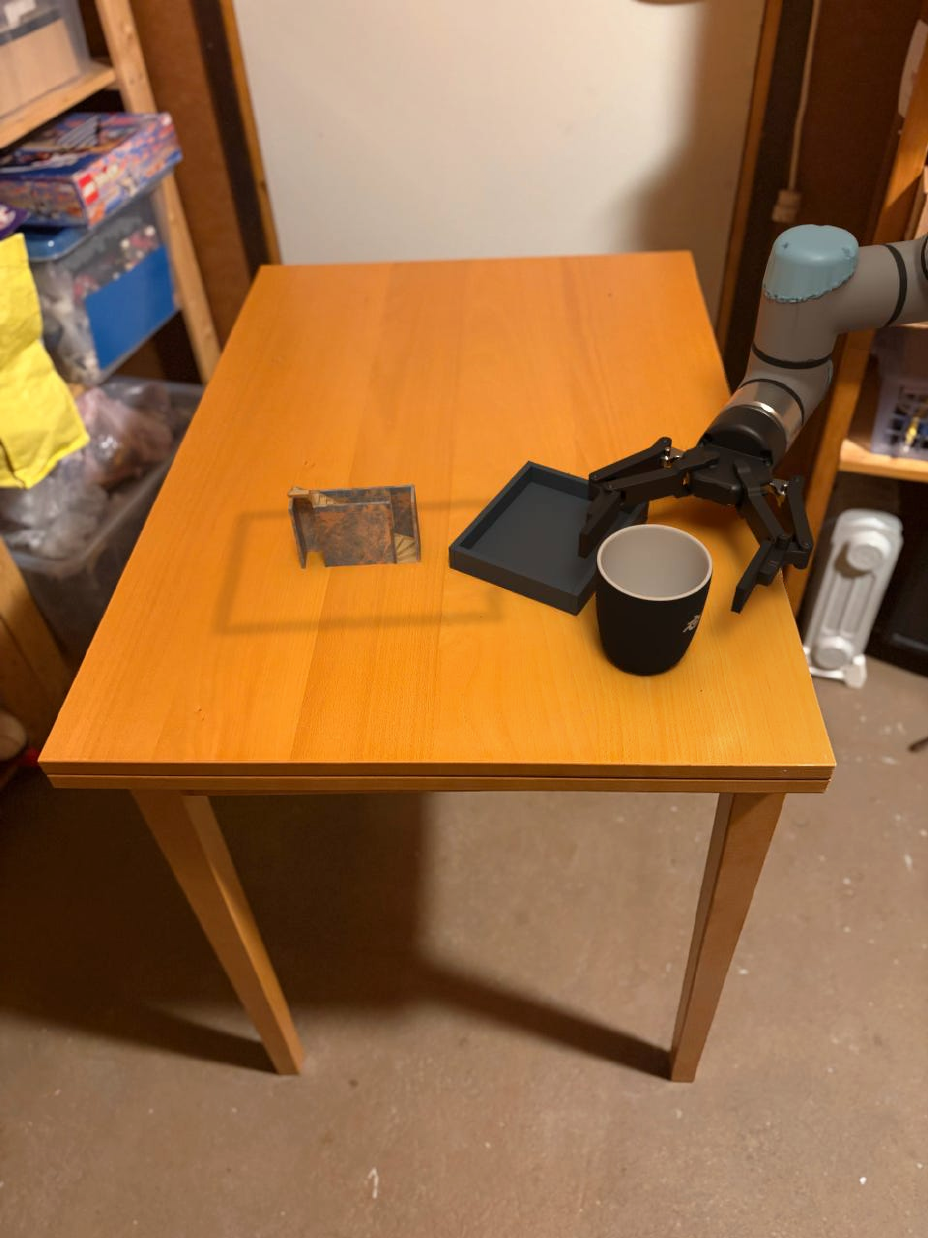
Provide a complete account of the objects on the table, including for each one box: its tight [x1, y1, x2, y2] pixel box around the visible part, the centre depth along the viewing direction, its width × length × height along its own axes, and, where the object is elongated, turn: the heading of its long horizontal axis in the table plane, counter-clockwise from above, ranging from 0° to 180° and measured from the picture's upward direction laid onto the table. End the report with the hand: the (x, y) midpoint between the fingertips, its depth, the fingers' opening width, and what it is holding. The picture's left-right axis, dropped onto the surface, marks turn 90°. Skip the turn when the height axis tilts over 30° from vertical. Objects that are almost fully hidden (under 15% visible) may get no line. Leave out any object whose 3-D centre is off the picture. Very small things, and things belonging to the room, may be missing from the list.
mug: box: [594, 523, 714, 676], centre depth 77 cm, size 12×9×10 cm
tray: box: [447, 460, 651, 617], centre depth 89 cm, size 13×15×2 cm
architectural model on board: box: [286, 484, 422, 569], centre depth 86 cm, size 11×3×10 cm, turn 92°
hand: (657, 572), depth 76 cm, fingers open, 13 cm apart
